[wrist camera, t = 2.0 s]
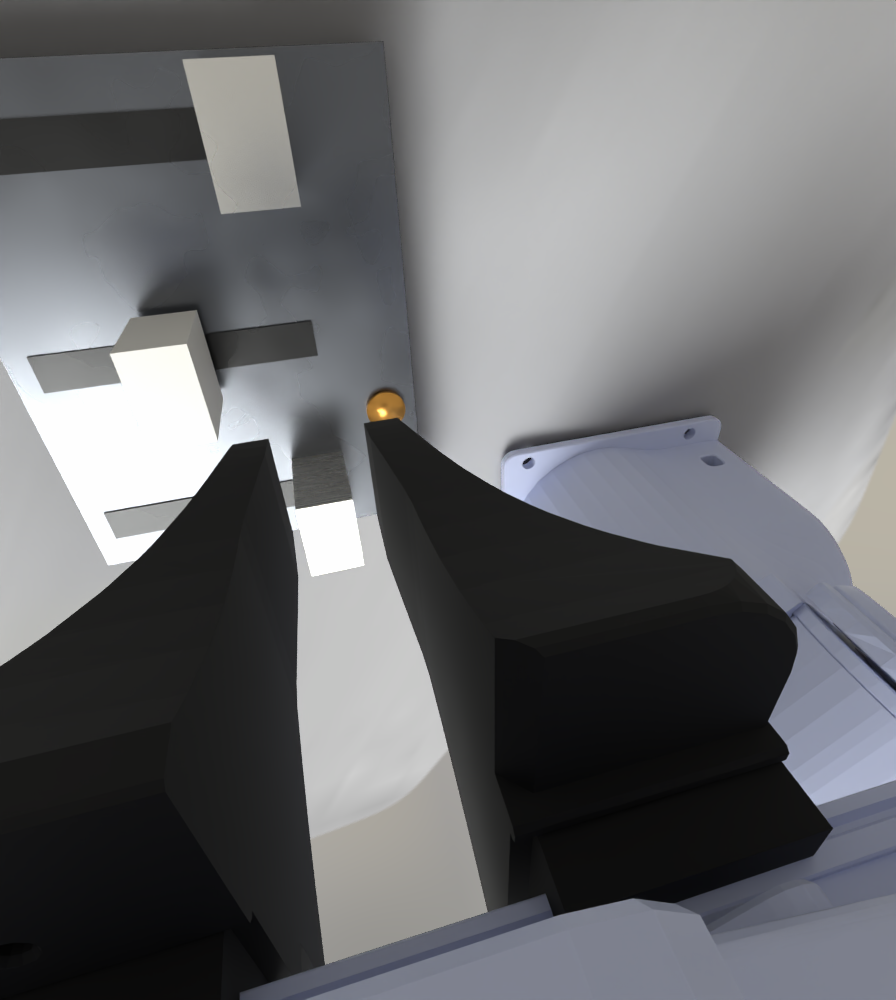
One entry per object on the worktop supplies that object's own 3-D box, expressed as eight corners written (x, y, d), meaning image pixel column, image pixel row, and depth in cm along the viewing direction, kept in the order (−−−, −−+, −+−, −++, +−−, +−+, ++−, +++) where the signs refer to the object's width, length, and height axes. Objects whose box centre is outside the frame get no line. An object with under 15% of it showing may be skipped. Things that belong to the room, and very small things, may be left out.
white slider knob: (196, 309, 15) (186, 344, 13) (223, 398, 16) (217, 441, 14) (130, 318, 15) (110, 354, 13) (163, 407, 16) (149, 452, 14)
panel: (370, 46, 15) (407, 31, 11) (412, 475, 22) (443, 555, 18) (-103, 67, 13) (-256, 59, 9) (120, 528, 20) (87, 628, 17)
